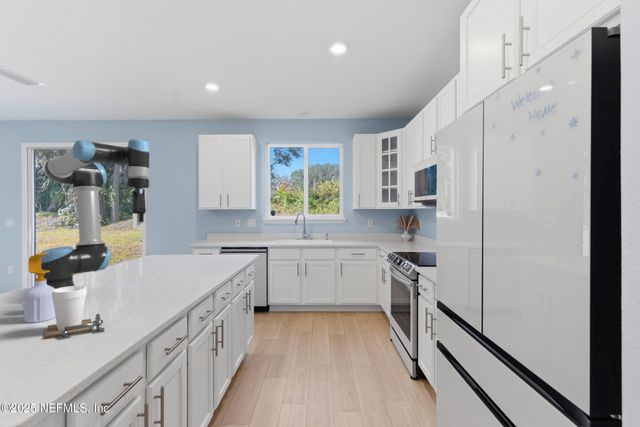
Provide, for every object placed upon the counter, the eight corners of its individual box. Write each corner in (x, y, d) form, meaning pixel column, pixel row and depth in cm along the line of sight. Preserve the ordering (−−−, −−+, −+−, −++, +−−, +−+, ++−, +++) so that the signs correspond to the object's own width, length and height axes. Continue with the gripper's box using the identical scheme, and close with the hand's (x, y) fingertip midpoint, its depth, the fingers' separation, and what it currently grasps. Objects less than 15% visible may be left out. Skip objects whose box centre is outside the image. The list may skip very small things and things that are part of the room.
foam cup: (47, 334, 103) (47, 293, 103) (55, 325, 111) (55, 287, 111) (83, 329, 107) (84, 290, 107) (89, 320, 116) (89, 284, 116)
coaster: (48, 327, 111) (48, 325, 111) (90, 321, 118) (90, 318, 118) (44, 339, 101) (44, 336, 101) (91, 331, 108) (91, 328, 108)
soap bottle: (37, 324, 114) (37, 255, 114) (17, 322, 116) (17, 254, 116) (62, 316, 123) (62, 251, 123) (43, 314, 125) (43, 251, 125)
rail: (60, 327, 111) (60, 318, 111) (102, 320, 118) (102, 312, 118) (58, 339, 101) (58, 329, 101) (104, 331, 108) (104, 322, 108)
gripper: (154, 176, 125) (153, 230, 125) (144, 180, 145) (144, 227, 145) (131, 174, 120) (131, 231, 120) (125, 179, 140) (124, 228, 141)
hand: (138, 229), depth 133 cm, fingers open, 13 cm apart
